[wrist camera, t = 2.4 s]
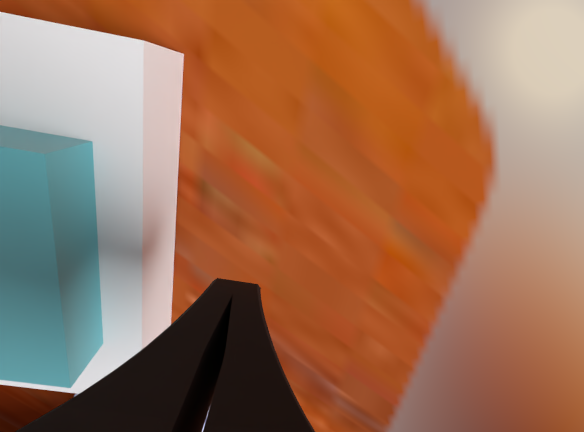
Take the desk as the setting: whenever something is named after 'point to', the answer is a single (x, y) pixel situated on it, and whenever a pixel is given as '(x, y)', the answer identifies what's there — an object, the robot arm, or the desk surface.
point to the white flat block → (108, 162)
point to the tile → (47, 258)
